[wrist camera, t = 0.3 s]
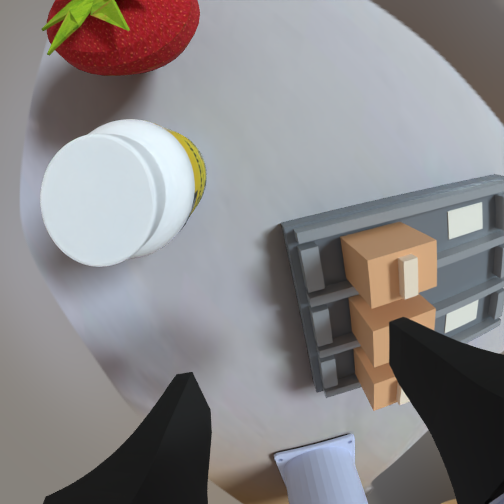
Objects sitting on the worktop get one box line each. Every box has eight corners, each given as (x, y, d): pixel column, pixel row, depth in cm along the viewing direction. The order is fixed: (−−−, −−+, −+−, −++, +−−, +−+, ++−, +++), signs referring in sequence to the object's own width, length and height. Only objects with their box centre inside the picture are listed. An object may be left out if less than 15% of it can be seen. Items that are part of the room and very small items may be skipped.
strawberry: (183, 110, 16) (126, 65, 7) (79, 78, 15) (-27, 42, 5) (226, 26, 15) (222, -78, 5) (120, 1, 13) (51, -79, 4)
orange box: (402, 260, 18) (442, 290, 14) (345, 277, 18) (376, 314, 14) (399, 221, 17) (443, 243, 13) (339, 236, 17) (372, 265, 13)
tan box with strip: (404, 313, 19) (437, 350, 15) (351, 331, 19) (377, 374, 15) (403, 280, 18) (441, 313, 14) (348, 297, 18) (377, 337, 14)
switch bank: (489, 314, 22) (502, 324, 20) (313, 382, 23) (319, 401, 20) (495, 174, 18) (513, 178, 16) (280, 222, 18) (287, 232, 16)
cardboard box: (403, 356, 20) (430, 394, 16) (355, 373, 21) (376, 417, 16) (404, 329, 20) (435, 367, 15) (353, 347, 20) (377, 390, 15)
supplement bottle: (202, 226, 18) (171, 303, 9) (117, 216, 18) (25, 276, 8) (214, 135, 17) (192, 113, 7) (125, 127, 16) (27, 112, 7)
